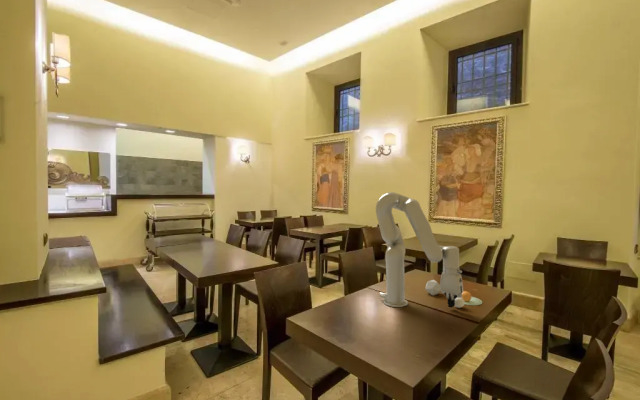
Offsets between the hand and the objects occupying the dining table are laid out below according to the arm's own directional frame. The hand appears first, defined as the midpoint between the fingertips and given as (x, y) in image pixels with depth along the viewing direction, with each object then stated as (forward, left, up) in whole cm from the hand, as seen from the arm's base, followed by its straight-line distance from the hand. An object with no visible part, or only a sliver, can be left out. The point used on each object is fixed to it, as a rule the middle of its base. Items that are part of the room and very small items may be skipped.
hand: (451, 306), depth 153 cm
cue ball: (+3, +5, +1) cm, 6 cm away
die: (-14, +19, -2) cm, 24 cm away
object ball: (+4, +16, +1) cm, 17 cm away
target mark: (+5, +18, -2) cm, 19 cm away
